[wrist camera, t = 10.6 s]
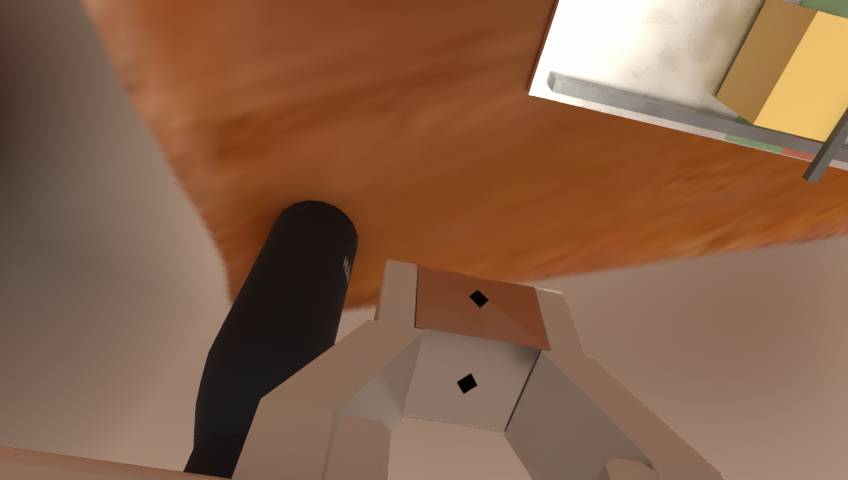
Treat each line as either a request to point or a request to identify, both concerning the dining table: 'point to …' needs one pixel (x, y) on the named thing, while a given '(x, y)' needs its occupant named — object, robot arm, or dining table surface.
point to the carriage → (794, 77)
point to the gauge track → (662, 65)
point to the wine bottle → (272, 328)
